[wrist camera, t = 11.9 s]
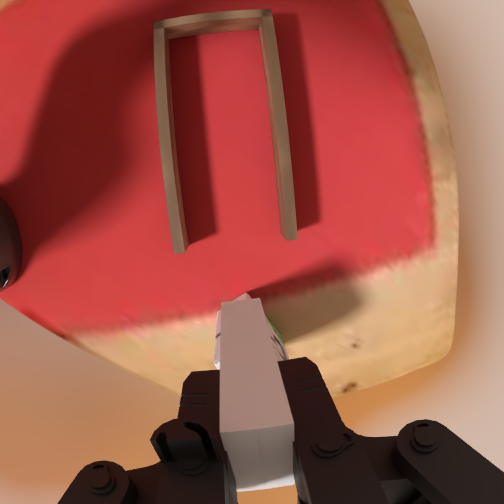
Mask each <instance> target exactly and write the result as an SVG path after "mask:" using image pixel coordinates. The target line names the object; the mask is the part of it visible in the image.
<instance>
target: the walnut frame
mask: <svg viewBox="0 0 504 504" xmlns="http://www.w3.org/2000/svg"><path fill="white" fill-rule="evenodd" d="M241 30H259V34H260V41H261V48H262V56H263V64H264V72H265V80H266V88H267V96H268V105H269V114H270V123H271V132H272V141H273V151H274V161H275V171H276V181H277V192H278V203H279V214H280V226H281V235H282V236H283V237H284V238H285V239H286V240H287V241H288V240H297V239H298V238H297V224H296V211H295V198H294V186H293V175H292V164H291V154H290V144H289V135H288V126H287V117H286V108H285V100H284V92H283V84H282V77H281V69H280V62H279V55H278V48H277V41H276V35H275V28H274V22H273V16H272V10H271V9H253V10H234V11H221V12H211V13H203V14H195V15H188V16H182V17H176V18H170V19H165V20H160V21H155V22H153V35H154V71H155V91H156V106H157V120H158V132H159V143H160V153H161V162H162V171H163V180H164V188H165V196H166V203H167V210H168V217H169V224H170V231H171V237H172V244H173V250H174V254H178V253H185V252H186V250H187V248H188V246H189V242H188V236H187V229H186V222H185V215H184V207H183V200H182V192H181V183H180V175H179V166H178V157H177V147H176V137H175V126H174V115H173V102H172V88H171V72H170V52H169V39H174V38H180V37H186V36H193V35H200V34H208V33H217V32H227V31H241Z"/></svg>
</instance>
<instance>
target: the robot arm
mask: <svg viewBox="0 0 504 504" xmlns="http://www.w3.org/2000/svg"><path fill="white" fill-rule="evenodd" d="M20 264H21V242H20V236H19V231H18V228H17V225H16V222H15V219H14V217H13V215H12V213H11V211H10V210H9V208H8V207H7V205H6V204H5V203H4V202H3V201H2V200H1V199H0V292H1V291H3V290H4V289H6V288H8V287H9V286H10V285H11V284H12V283H13V282H14V281H15V279H16V277H17V275H18V272H19V269H20ZM181 395H182V397H181V400H180V407H179V412H178V419H173V420H171V421H168V422H166V423H164V424H162V425H161V426H160V427H159V428H157V429H156V430H155V431H154V433H153V435H152V437H151V439H150V441H151V443H152V445H153V447H154V449H155V451H156V453H157V454H158V456H159V458H160V460H161V461H160V462H158V463H156V464H154V465H151V466H148V467H144V468H139V469H133V470H128V471H125V470H124V469H123V468H122V466H120V465H118V464H116V463H114V462H110V461H97V462H93V463H91V464H89V465H87V466H85V467H84V468H83V469H82V470H81V471H80V472H79V473H78V474H77V476H76V477H75V479H74V480H73V482H72V483H71V485H70V486H69V488H68V489H67V491H66V492H65V493H64V495H63V496H62V498H61V499H60V501H59V502H58V504H238V502H237V491H238V492H239V491H250V490H259V489H267V488H275V487H281V486H288V485H293V484H295V483H296V488H297V492H298V504H504V472H503V471H501V470H500V469H499V468H497V467H496V466H495V465H494V464H492V463H491V462H490V461H488V460H487V459H486V458H484V457H483V456H482V455H481V454H480V453H478V452H477V451H476V450H474V449H473V448H472V447H471V446H469V445H468V444H467V443H465V442H464V441H463V440H462V439H461V438H459V437H458V436H457V435H455V434H454V433H453V432H452V431H450V430H449V429H448V428H447V427H445V426H444V425H442V424H440V423H439V422H437V421H432V420H426V419H425V420H416V421H414V422H411V423H409V424H407V425H406V426H405V427H404V428H402V429H401V430H400V432H399V434H398V436H389V437H365V436H362V435H358V434H356V433H354V431H353V430H351V429H349V428H347V427H346V426H345V425H344V423H343V422H342V420H341V417H340V415H339V413H338V411H337V409H336V407H335V404H334V402H333V400H332V397H331V395H330V393H329V391H328V389H327V388H326V384H325V382H324V380H323V378H322V376H321V373H320V371H319V369H318V367H317V365H316V364H315V363H313V362H312V361H311V360H309V359H308V358H307V357H302V358H296V359H290V360H283V361H277V359H276V355H275V352H274V348H273V344H272V340H271V337H270V333H269V329H268V326H267V322H266V318H265V315H264V311H263V307H262V304H261V300H260V298H254V299H246V300H237V301H229V302H221V336H220V369H219V370H208V371H195V372H191V373H190V375H189V376H188V377H187V378H186V380H185V381H184V382H183V388H182V394H181ZM236 488H237V490H236Z"/></svg>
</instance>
